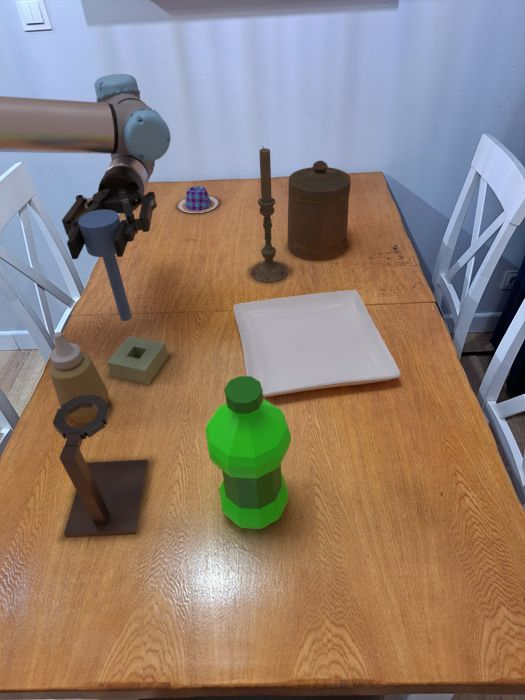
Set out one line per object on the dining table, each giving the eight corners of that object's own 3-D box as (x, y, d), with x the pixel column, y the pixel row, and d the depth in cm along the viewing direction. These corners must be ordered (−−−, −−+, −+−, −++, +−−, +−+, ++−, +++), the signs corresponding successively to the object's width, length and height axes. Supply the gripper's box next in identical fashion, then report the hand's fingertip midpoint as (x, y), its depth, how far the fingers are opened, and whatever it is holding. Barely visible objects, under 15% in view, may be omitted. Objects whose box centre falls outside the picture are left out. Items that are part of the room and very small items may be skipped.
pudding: (223, 199, 150) (221, 182, 147) (211, 216, 142) (209, 199, 138) (186, 196, 153) (184, 180, 149) (172, 214, 144) (169, 197, 140)
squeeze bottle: (64, 434, 83) (26, 356, 71) (68, 400, 89) (33, 322, 77) (112, 425, 84) (83, 347, 72) (113, 392, 90) (86, 314, 78)
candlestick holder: (253, 263, 122) (245, 138, 102) (290, 264, 120) (289, 138, 101) (247, 283, 115) (238, 154, 95) (286, 285, 114) (284, 154, 94)
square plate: (251, 410, 85) (250, 395, 83) (233, 316, 106) (232, 302, 103) (400, 388, 88) (403, 373, 85) (355, 300, 108) (356, 286, 105)
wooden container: (347, 234, 130) (353, 150, 116) (344, 264, 120) (351, 175, 105) (291, 232, 133) (291, 149, 118) (284, 260, 122) (282, 173, 107)
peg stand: (86, 467, 78) (51, 393, 67) (149, 463, 78) (125, 389, 66) (66, 538, 69) (21, 467, 58) (137, 535, 69) (106, 463, 57)
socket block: (112, 377, 93) (106, 362, 90) (133, 350, 99) (128, 335, 96) (149, 386, 91) (145, 370, 88) (168, 358, 96) (165, 342, 94)
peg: (102, 324, 85) (69, 224, 73) (120, 305, 89) (92, 207, 77) (132, 330, 84) (104, 229, 71) (149, 310, 88) (125, 211, 75)
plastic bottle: (224, 476, 75) (205, 357, 59) (293, 481, 74) (293, 360, 58) (213, 538, 68) (187, 421, 51) (289, 544, 67) (287, 426, 50)
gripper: (179, 202, 92) (163, 268, 74) (77, 207, 92) (39, 274, 74) (172, 162, 87) (154, 223, 69) (65, 167, 87) (21, 229, 69)
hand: (95, 249), depth 72 cm, fingers closed on peg, 6 cm apart
